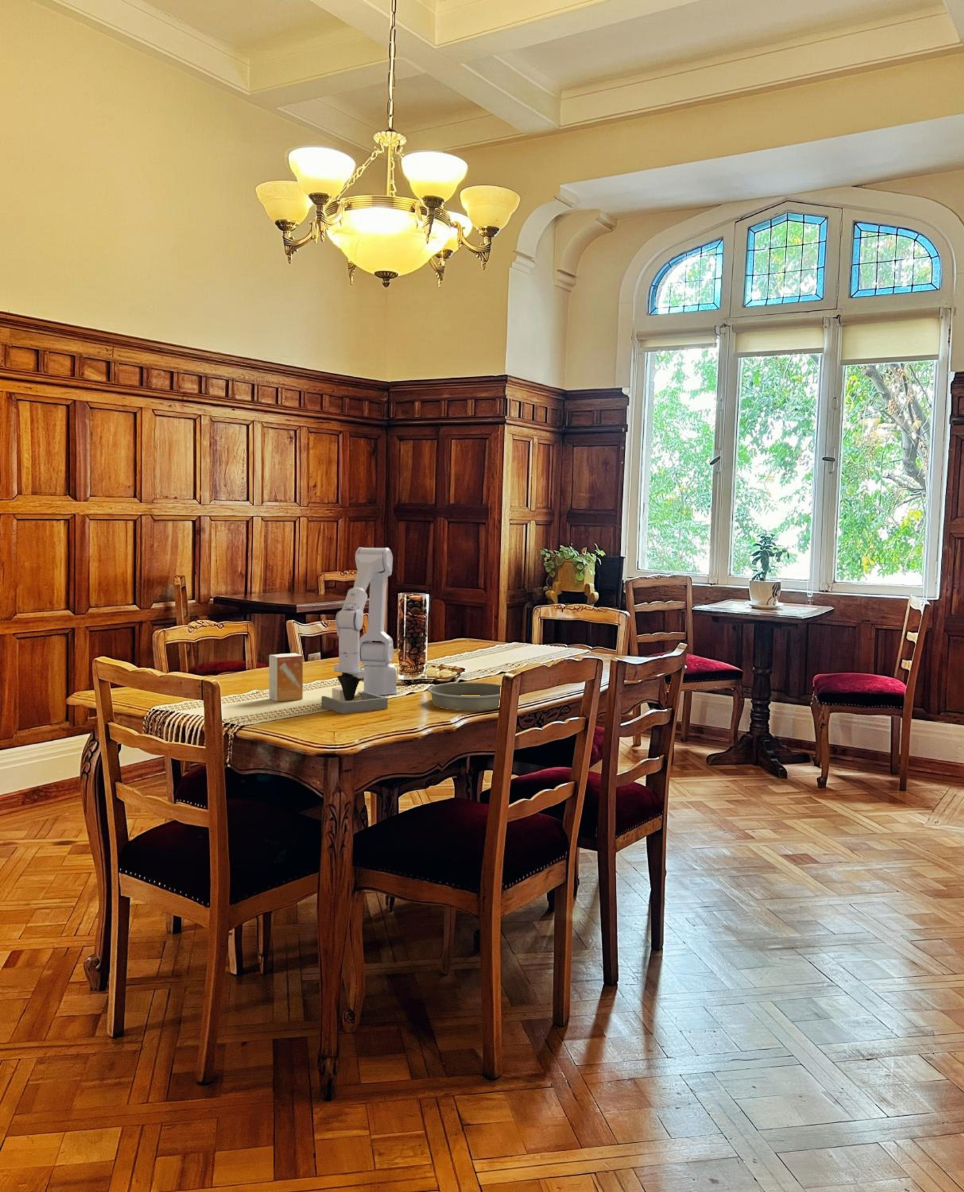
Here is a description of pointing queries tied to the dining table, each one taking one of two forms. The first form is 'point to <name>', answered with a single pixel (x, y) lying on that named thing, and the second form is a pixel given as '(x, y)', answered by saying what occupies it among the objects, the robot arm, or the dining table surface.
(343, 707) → the gray tray
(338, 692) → the ivory cube
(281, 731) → the dining table surface
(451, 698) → the cake pan
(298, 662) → the small box
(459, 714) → the dining table surface
